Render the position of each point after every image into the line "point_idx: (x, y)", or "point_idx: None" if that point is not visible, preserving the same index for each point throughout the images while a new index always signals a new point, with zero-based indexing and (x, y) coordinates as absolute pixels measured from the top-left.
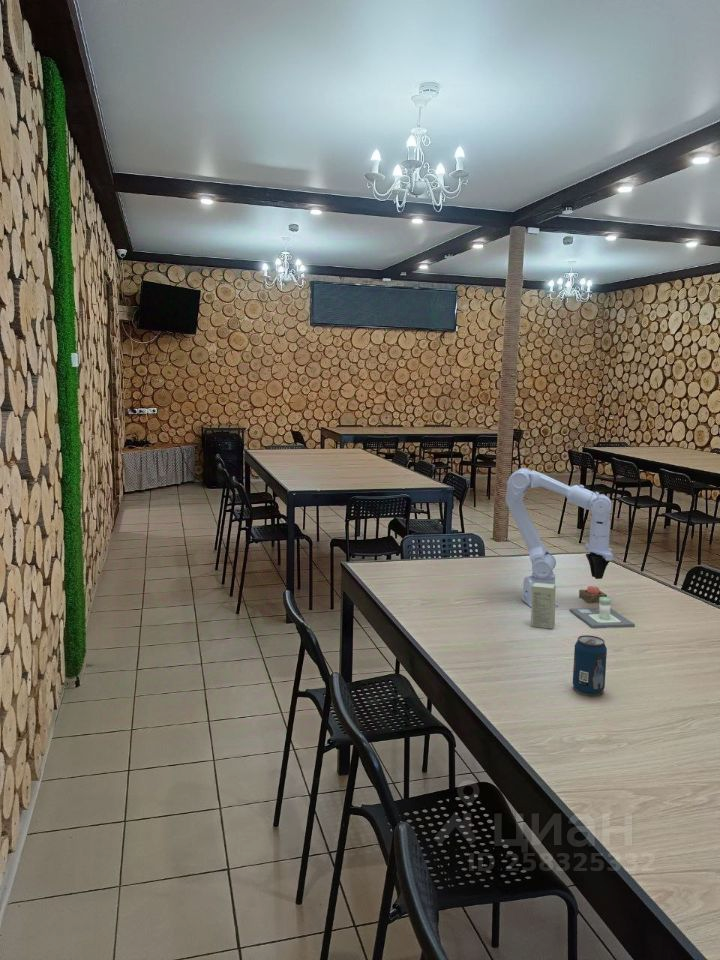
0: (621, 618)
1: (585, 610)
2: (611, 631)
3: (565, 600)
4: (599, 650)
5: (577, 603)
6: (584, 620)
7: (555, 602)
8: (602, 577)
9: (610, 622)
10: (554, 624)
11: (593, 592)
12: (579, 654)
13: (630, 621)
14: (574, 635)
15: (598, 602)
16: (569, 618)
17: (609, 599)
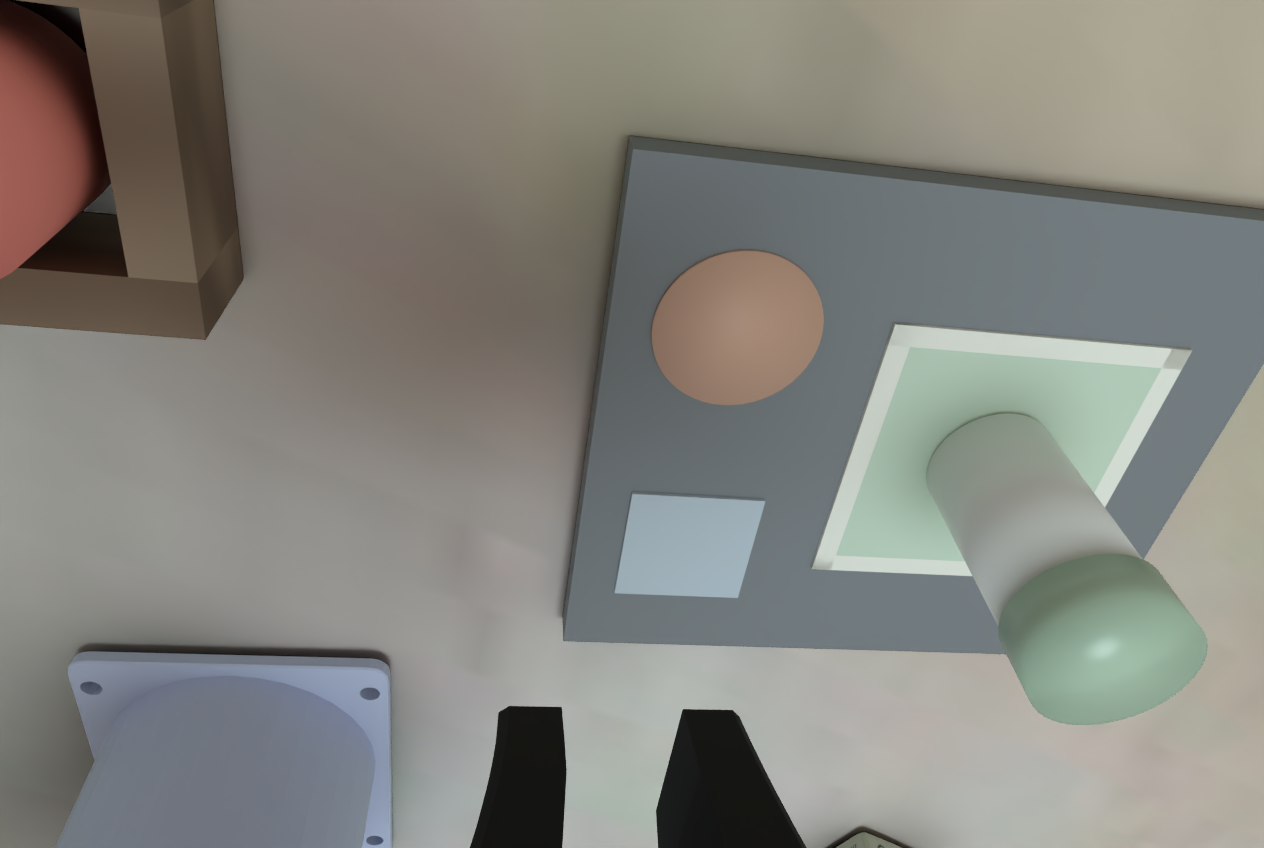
0: (1097, 270)
1: (672, 532)
2: (1233, 525)
3: (116, 502)
4: None
5: (258, 420)
6: (919, 644)
7: (288, 671)
8: (745, 734)
9: (1123, 470)
10: (878, 841)
11: (68, 202)
12: None
13: (1249, 224)
14: (1110, 788)
15: (219, 91)
16: (762, 692)
17: (1205, 651)
